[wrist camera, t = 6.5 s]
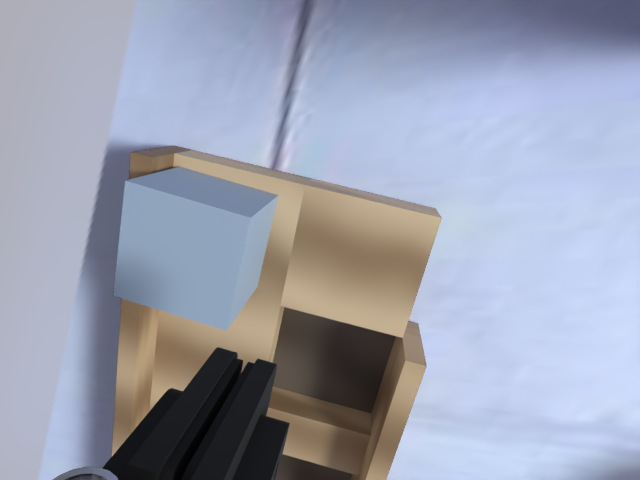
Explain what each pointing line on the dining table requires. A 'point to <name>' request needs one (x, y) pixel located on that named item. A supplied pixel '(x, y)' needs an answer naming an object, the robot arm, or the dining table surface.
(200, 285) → the block
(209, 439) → the robot arm
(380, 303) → the box
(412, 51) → the dining table surface
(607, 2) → the dining table surface
